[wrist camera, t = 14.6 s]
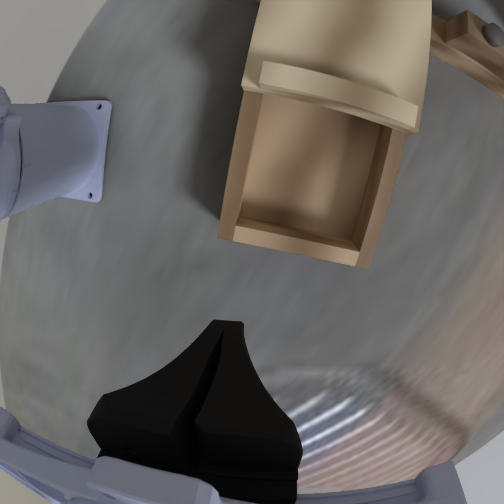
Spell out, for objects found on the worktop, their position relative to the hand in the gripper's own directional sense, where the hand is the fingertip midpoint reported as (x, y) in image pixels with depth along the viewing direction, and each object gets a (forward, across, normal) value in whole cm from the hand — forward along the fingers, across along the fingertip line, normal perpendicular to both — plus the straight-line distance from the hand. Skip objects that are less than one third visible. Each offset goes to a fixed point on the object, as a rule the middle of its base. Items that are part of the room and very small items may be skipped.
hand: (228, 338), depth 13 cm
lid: (+7, -6, -18) cm, 20 cm away
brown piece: (+10, -11, -10) cm, 18 cm away
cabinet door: (+7, -19, -17) cm, 26 cm away
